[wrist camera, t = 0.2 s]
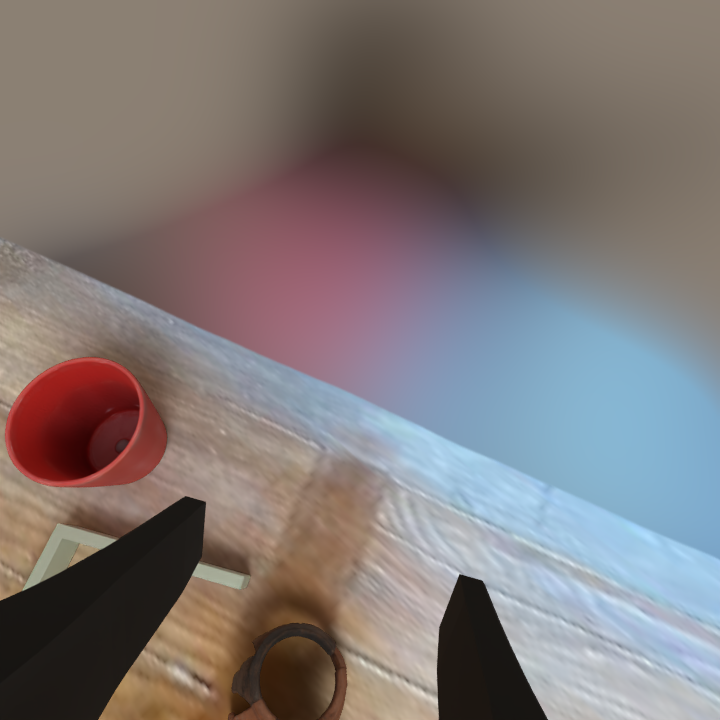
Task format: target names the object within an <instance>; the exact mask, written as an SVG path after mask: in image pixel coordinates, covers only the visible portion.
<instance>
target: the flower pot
mask: <svg viewBox="0 0 720 720" xmlns="http://www.w3.org/2000/svg"><path fill="white" fill-rule="evenodd" d="M5 441H6V447H7V450H8V454H9V456H10V458H11V460H12V462H13V464H14V465H15V466H16V468H17V469H18V470H19V471H20V472H21V473H23V474H24V475H25V476H27V477H28V478H29V479H31V480H33V481H35V482H37V483H40V484H43V485H47V486H54V487H100V486H111V485H122V484H128V483H132V482H135V481H137V480H139V479H141V478H143V477H144V476H146V475H147V474H149V473H150V472H151V471H152V470H153V469H154V468H155V467H156V466H157V465H158V463H159V462H160V460H161V459H162V456H163V454H164V452H165V449H166V443H167V433H166V429H165V426H164V424H163V422H162V420H161V418H160V416H159V414H158V412H157V410H156V409H155V407H154V405H153V404H152V402H151V400H150V399H149V397H148V395H147V394H146V392H145V391H144V389H143V388H142V386H141V385H140V383H139V382H138V380H137V379H136V378H135V376H134V375H133V374H132V373H131V372H130V371H129V370H128V369H126V368H125V367H123V366H122V365H120V364H118V363H116V362H114V361H111V360H108V359H104V358H98V357H83V358H77V359H72V360H68V361H65V362H62V363H60V364H57V365H55V366H53V367H51V368H49V369H47V370H46V371H44V372H43V373H41V374H40V375H39V376H37V377H36V378H35V379H34V380H32V381H31V382H30V383H29V384H28V385H27V386H26V387H25V388H24V389H23V391H22V392H21V393H20V395H19V396H18V397H17V399H16V401H15V402H14V404H13V406H12V408H11V410H10V413H9V416H8V419H7V423H6V429H5Z"/></svg>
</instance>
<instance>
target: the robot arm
mask: <svg viewBox="0 0 720 720" xmlns="http://www.w3.org/2000/svg"><path fill="white" fill-rule="evenodd" d="M205 508H206V502H204V501H201V500H197V499H194V498H190V497H187V496H185V497H184V498H182V499H180V500H179V501H177V502H176V503H174V504H172V505H171V506H169V507H168V508H166V509H165V510H163V511H162V512H160V513H159V514H157V515H156V516H154V517H153V518H151V519H150V520H148V521H146V522H145V523H143V524H142V525H140V526H139V527H137V528H136V529H134V530H132V531H131V532H129V533H127V534H126V535H124V536H123V537H121V538H119V539H118V540H116V541H115V542H113V543H111V544H110V545H108V546H106V547H105V548H103V549H101V550H99V551H98V552H96V553H94V554H92V555H91V556H89V557H87V558H85V559H84V560H82V561H80V562H78V563H76V564H75V565H73V566H71V567H69V568H67V569H65V570H64V571H62V572H60V573H58V574H56V575H54V576H52V577H50V578H48V579H46V580H44V581H42V582H40V583H38V584H36V585H34V586H32V587H30V588H28V589H26V590H24V591H21V592H19V593H17V594H15V595H12V596H10V597H8V598H6V599H3V600H1V601H0V720H98V719H99V717H100V715H101V714H102V712H103V710H104V709H105V707H106V705H107V703H108V702H109V700H110V698H111V697H112V695H113V693H114V692H115V690H116V689H117V687H118V685H119V684H120V682H121V681H122V679H123V678H124V676H125V675H126V673H127V672H128V670H129V669H130V667H131V666H132V665H133V663H134V662H135V660H136V659H137V657H138V656H139V654H140V653H141V652H142V650H143V649H144V647H145V646H146V644H147V643H148V642H149V640H150V639H151V637H152V636H153V634H154V633H155V631H156V630H157V629H158V627H159V626H160V624H161V623H162V621H163V620H164V619H165V617H166V616H167V614H168V613H169V611H170V610H171V608H172V607H173V605H174V604H175V602H176V601H177V600H178V598H179V597H180V595H181V594H182V592H183V590H184V589H185V587H186V585H187V583H188V581H189V580H190V578H191V576H192V574H193V572H194V570H195V568H196V567H197V565H198V563H199V561H200V559H201V557H202V547H203V534H204V521H205ZM437 685H438V709H439V720H548V719H547V717H546V715H545V713H544V711H543V710H542V708H541V706H540V704H539V702H538V700H537V698H536V696H535V694H534V693H533V691H532V689H531V687H530V685H529V683H528V681H527V679H526V677H525V675H524V673H523V671H522V668H521V666H520V664H519V662H518V660H517V658H516V656H515V654H514V652H513V650H512V647H511V645H510V643H509V641H508V639H507V636H506V634H505V632H504V630H503V627H502V625H501V623H500V620H499V618H498V616H497V613H496V611H495V609H494V606H493V604H492V601H491V599H490V596H489V594H488V591H487V589H486V586H485V584H484V583H483V581H482V580H478V579H475V578H471V577H468V576H464V575H461V574H459V577H458V580H457V582H456V585H455V588H454V590H453V593H452V595H451V598H450V601H449V603H448V606H447V609H446V611H445V614H444V617H443V619H442V622H441V624H440V627H439V642H438V660H437Z"/></svg>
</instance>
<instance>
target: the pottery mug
mask: <svg viewBox="0 0 720 720" xmlns="http://www.w3.org/2000/svg"><path fill="white" fill-rule="evenodd" d="M292 636H301V637H305V638H308V639H311V640H313V641H315V642H316V643H318V644H319V645H320V646H321V647H322V648H323V649H324V650H325V651H326V652H327V654H328V655H330V657H331V659H332V661H333V664H334V666H335V670H336V672H335V691H334V695H333V698H332V701H331V703H330V705H329V707H328V708H327V710H326V711H325V712H324V713H323V714H322V715H321V717H320V718H319V719H317V720H339V718H340V715H341V713H342V710H343V705H344V701H345V695H346V688H347V674H346V672H347V671H346V664H345V662H344V659H343V657H342V655H341V653H340V651H339V650H338V648H337V647H336V643H335V641H334V640H333V639H332V638H331V637H330V636H329V635H328V634H327V633H325V632H324V631H322V630H321V629H320V628H318V627H316V626H314V625H311V624H305V623H302V624H299V623H290V624H287V625H282V626H279V627H277V628H274V629H273V630H271V631H269V632H267V633H265V634H263V635H261V636H259V637H258V638H256V639H255V640H253V642H252V643H253V644H254V647H255V651H256V654H255V655H254V656H252V657H250V658H248V659H247V660H246V661H245V662H244V663H243V664H242V666H241V668H240V670H239V671H238V672H237V673H236V674H235V675H234V678H233V683H232V693H238V694H239V695H240V696H241V697H243V698H244V699H245V700H246V701H247V702H248V703H249V704H250V705H251V706H250V707H249V708H247V709H246V710H244V711H243V712H242V713H240V714H238V715H236V716H235V713H234V712H231V713H229V716H228V720H280V719H278V718H277V717H276V716H275V715H274V714H273V713H272V712H271V711H270V710H269V708H268V707H267V705H266V703H265V701H264V699H263V697H262V695H261V690H260V671H261V666H262V663H263V661H264V658H265V656H266V654H267V652H268V651H269V650H270V649H271V648H272V647H273V646H274V645H275V644H276V643H277V642H279V641H281V640H283V639H285V638H288V637H292Z"/></svg>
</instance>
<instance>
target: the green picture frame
mask: <svg viewBox="0 0 720 720" xmlns="http://www.w3.org/2000/svg"><path fill="white" fill-rule="evenodd" d="M118 539H119V538H118V537H114V536H111V535H107V534H104V533H100V532H97V531H93V530H90V529H86V528H83V527H79V526H75V525H68V524H61V523H58V524H57V526H56V528H55V529H54V531H53V533H52V535H51V537H50V539H49V541H48V543H47V545H46V547H45V548H44V550H43V552H42V554H41V556H40V558H39V560H38V562H37V564H36V566H35V567H34V569H33V571H32V573H31V575H30V577H29V579H28V581H27V583H26V585H25V586H24V588H23V590H22V591H24V590H26V589H28V588H30V587H32V586H34V585H36V584H38V583H40V582H42V581H44V580H46V579H48V578H50V577H52V576H54V575H56V574H58V573H60V572H62V571H64V570H65V569H67V567H68V565H69V563H70V561H71V559H72V557H73V555H74V553H75V551H76V549H77V547H78V545H79V543H80V544H84V545H87V546H91V547H94V548H98V549H103V548H105V547H106V546H108V545H110V544H111V543H113V542H115V541H116V540H118ZM192 576H195V577H198V578H201V579H205V580H208V581H212V582H215V583H219V584H222V585H226V586H229V587H233V588H236V589H240V590H241V589H244V588H247V586H248V582H249V579H250V575H247V574H243V573H240V572H236V571H233V570H229V569H226V568H222V567H219V566H215V565H212V564H208V563H205V562H201V561H199V563H198V565H197V567H196V568H195V570H194V572H193V574H192Z"/></svg>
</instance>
